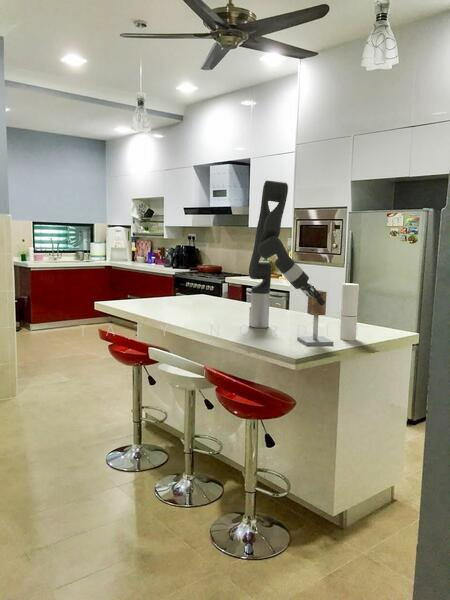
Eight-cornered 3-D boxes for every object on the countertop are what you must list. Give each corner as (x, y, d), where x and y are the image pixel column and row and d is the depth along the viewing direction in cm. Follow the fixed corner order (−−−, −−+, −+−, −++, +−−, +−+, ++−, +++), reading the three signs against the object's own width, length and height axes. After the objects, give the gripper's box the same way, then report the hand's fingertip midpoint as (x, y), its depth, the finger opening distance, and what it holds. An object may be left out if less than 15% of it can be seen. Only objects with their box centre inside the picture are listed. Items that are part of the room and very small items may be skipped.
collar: (312, 315, 207) (313, 291, 206) (307, 313, 213) (308, 290, 212) (325, 315, 208) (326, 291, 207) (320, 313, 214) (321, 290, 213)
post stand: (306, 345, 205) (308, 314, 204) (297, 339, 217) (298, 309, 215) (333, 345, 208) (335, 314, 206) (322, 339, 219) (324, 309, 218)
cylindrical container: (353, 337, 226) (356, 283, 222) (357, 340, 219) (361, 285, 215) (337, 337, 225) (340, 283, 222) (342, 340, 218) (345, 284, 215)
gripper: (307, 270, 200) (333, 299, 204) (296, 268, 214) (320, 295, 218) (294, 283, 200) (320, 311, 203) (284, 280, 214) (308, 306, 217)
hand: (320, 303), depth 210 cm, fingers closed on collar, 6 cm apart
